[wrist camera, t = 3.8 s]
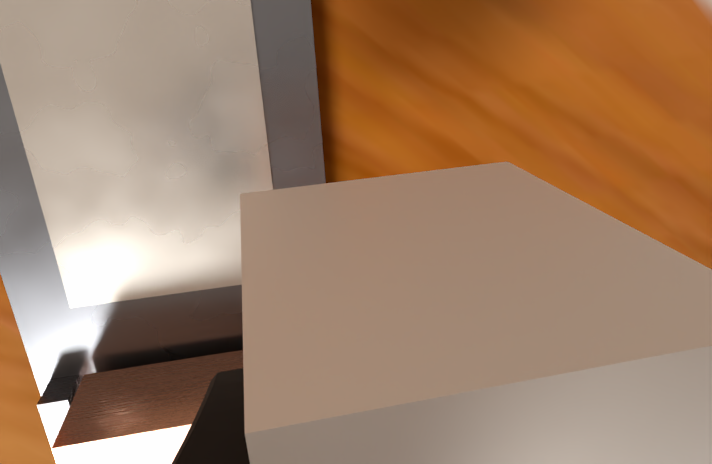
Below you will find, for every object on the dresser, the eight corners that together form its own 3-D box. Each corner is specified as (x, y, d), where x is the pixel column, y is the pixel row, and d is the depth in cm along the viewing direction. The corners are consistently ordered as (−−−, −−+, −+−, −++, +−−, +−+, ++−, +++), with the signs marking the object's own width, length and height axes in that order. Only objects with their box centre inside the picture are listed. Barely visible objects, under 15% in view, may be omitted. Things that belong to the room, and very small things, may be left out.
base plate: (300, -58, 15) (311, -70, 12) (344, 458, 21) (356, 510, 19) (-76, -41, 13) (-140, -52, 11) (95, 506, 20) (77, 568, 17)
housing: (507, 161, 9) (841, 339, 4) (497, 439, 12) (707, 780, 6) (239, 193, 9) (245, 455, 4) (283, 483, 11) (325, 906, 6)
